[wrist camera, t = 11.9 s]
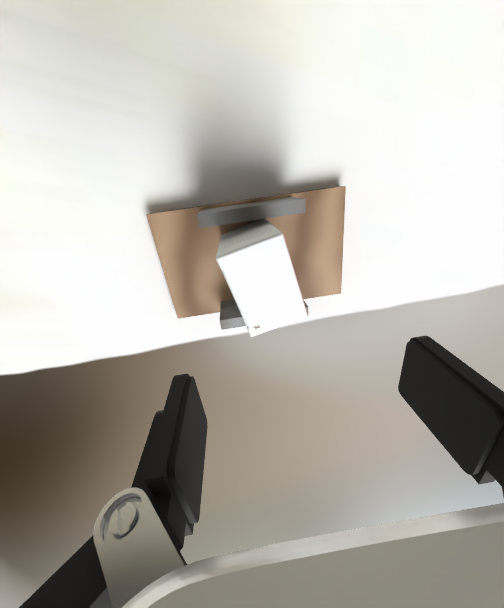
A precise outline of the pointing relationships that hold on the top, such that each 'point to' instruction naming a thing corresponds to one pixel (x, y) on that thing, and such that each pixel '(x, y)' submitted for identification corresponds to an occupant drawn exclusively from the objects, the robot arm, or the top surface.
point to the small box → (261, 276)
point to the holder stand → (232, 215)
